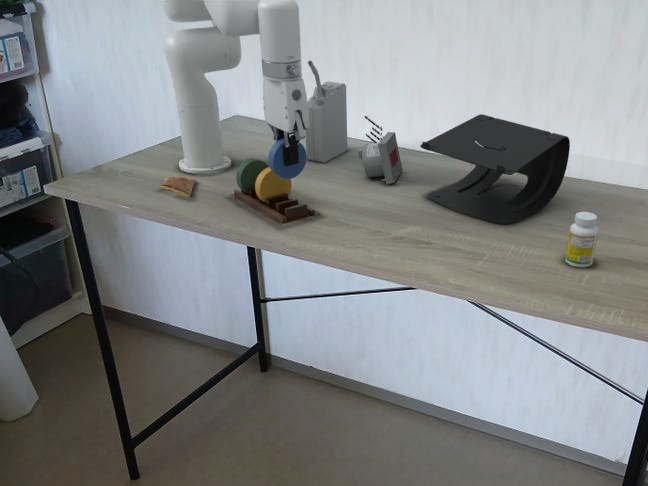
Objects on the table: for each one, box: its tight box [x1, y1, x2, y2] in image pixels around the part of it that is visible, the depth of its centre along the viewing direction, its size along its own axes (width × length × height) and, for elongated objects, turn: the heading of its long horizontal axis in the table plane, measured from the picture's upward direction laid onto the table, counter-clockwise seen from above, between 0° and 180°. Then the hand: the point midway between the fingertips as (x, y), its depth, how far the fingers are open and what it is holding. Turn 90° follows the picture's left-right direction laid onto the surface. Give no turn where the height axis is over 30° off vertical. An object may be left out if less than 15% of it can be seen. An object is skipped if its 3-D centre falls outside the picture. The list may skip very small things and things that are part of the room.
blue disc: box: [267, 138, 308, 180], centre depth 153 cm, size 2×8×8 cm, turn 131°
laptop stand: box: [419, 113, 571, 225], centre depth 168 cm, size 26×24×16 cm
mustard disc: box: [255, 166, 293, 203], centre depth 162 cm, size 2×8×8 cm, turn 131°
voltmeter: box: [357, 115, 403, 186], centre depth 185 cm, size 27×11×10 cm, turn 23°
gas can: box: [304, 60, 348, 164], centre depth 188 cm, size 15×5×25 cm, turn 155°
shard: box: [159, 176, 196, 198], centre depth 170 cm, size 11×8×2 cm
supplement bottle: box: [565, 211, 599, 268], centre depth 142 cm, size 5×5×10 cm
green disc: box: [235, 157, 270, 194], centre depth 166 cm, size 2×8×8 cm, turn 131°
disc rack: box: [229, 186, 321, 226], centre depth 164 cm, size 22×10×3 cm, turn 41°
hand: (287, 161), depth 153 cm, fingers closed on blue disc, 2 cm apart
